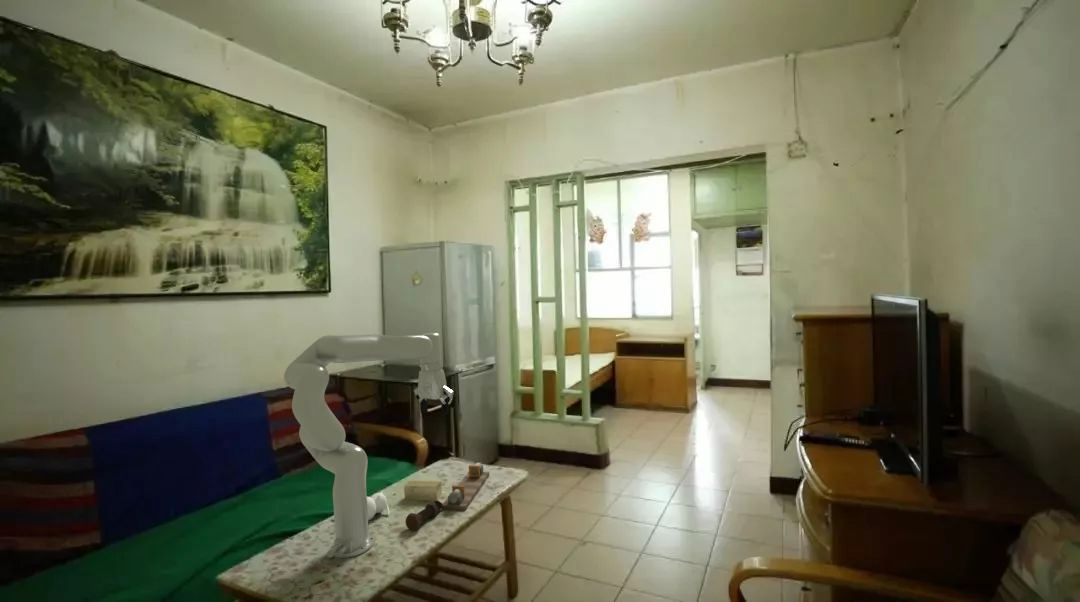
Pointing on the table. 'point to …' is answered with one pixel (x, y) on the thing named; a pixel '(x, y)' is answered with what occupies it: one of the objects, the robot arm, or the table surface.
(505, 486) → the table surface
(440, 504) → the bolt
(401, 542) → the table surface
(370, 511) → the cat figurine
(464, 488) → the shaft base
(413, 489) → the tan rectangular block
